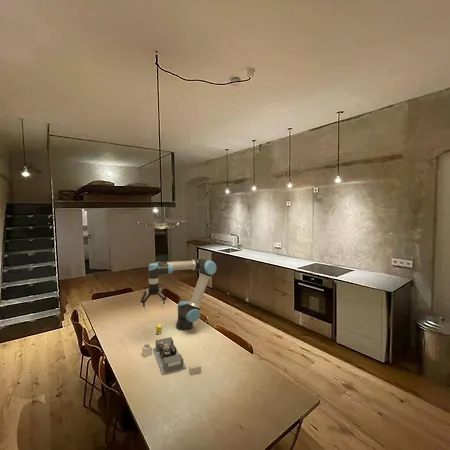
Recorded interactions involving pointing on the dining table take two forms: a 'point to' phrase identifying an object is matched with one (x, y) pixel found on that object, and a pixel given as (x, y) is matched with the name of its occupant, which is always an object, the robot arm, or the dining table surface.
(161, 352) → the camera
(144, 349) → the block
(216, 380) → the dining table surface
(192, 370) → the terminal block
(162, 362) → the rail board
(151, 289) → the robot arm
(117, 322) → the dining table surface
